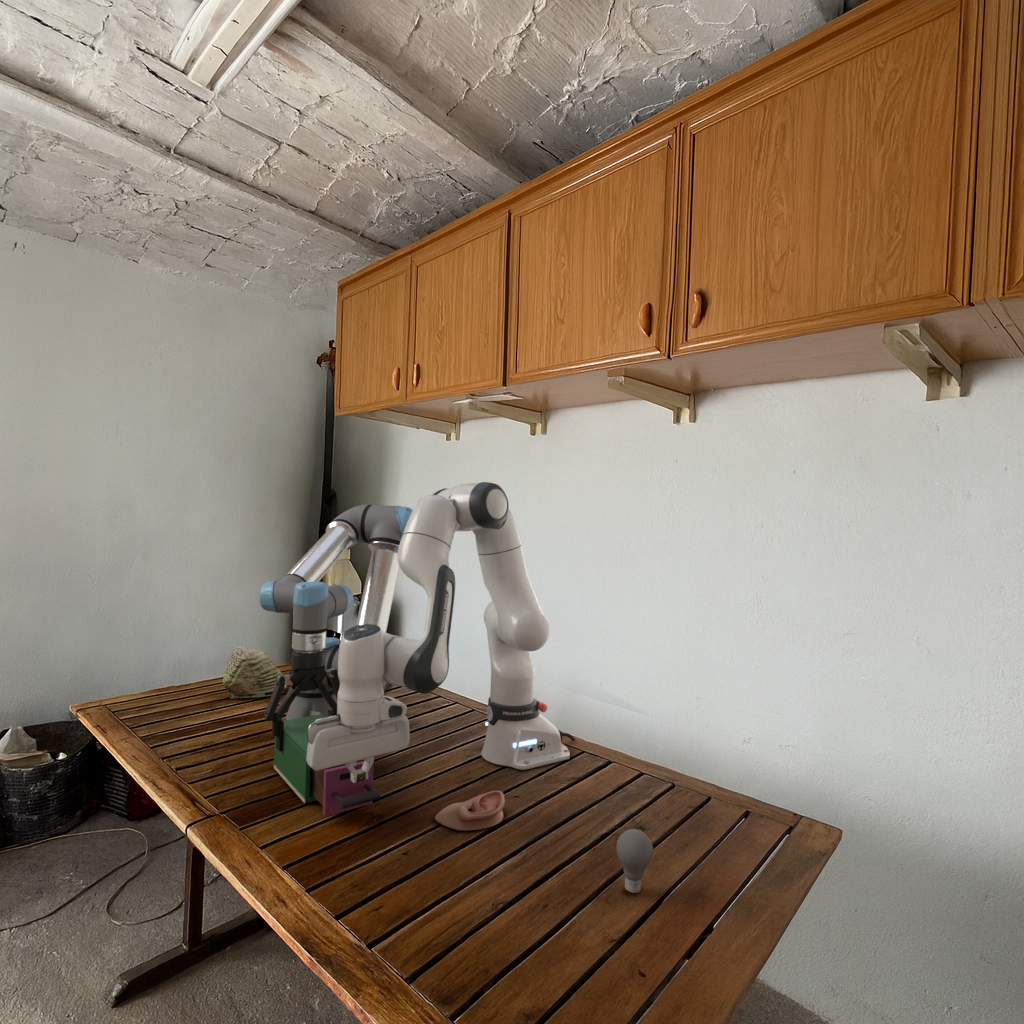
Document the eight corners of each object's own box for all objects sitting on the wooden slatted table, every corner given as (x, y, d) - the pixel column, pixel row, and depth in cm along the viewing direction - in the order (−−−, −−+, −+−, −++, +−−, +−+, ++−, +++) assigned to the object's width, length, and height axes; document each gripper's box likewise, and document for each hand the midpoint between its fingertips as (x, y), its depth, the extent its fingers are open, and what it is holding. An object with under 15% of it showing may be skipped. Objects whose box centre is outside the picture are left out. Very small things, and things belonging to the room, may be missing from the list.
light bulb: (610, 879, 108) (613, 822, 108) (644, 879, 109) (647, 822, 109) (619, 902, 102) (622, 840, 102) (655, 901, 103) (658, 840, 103)
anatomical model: (430, 806, 123) (447, 781, 135) (429, 826, 123) (447, 799, 135) (496, 815, 121) (508, 789, 132) (495, 836, 121) (508, 808, 132)
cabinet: (356, 790, 137) (357, 740, 137) (304, 803, 130) (306, 751, 130) (321, 757, 153) (322, 713, 153) (273, 768, 147) (275, 721, 147)
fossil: (218, 695, 195) (220, 647, 195) (278, 685, 208) (279, 640, 207) (228, 703, 189) (230, 653, 188) (289, 692, 201) (290, 645, 201)
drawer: (385, 815, 124) (386, 770, 124) (335, 829, 118) (337, 782, 118) (335, 769, 144) (336, 731, 144) (291, 779, 138) (292, 740, 138)
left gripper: (260, 659, 136) (256, 760, 136) (363, 647, 150) (360, 739, 150) (250, 651, 142) (247, 748, 142) (351, 641, 156) (347, 729, 156)
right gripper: (313, 725, 114) (312, 801, 115) (414, 705, 127) (412, 773, 127) (301, 715, 119) (300, 788, 120) (399, 696, 132) (398, 762, 132)
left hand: (305, 744), depth 146 cm, fingers closed on cabinet, 11 cm apart
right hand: (359, 780), depth 123 cm, fingers closed
